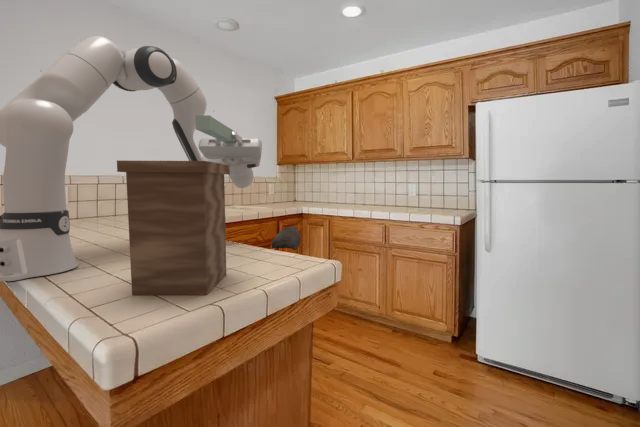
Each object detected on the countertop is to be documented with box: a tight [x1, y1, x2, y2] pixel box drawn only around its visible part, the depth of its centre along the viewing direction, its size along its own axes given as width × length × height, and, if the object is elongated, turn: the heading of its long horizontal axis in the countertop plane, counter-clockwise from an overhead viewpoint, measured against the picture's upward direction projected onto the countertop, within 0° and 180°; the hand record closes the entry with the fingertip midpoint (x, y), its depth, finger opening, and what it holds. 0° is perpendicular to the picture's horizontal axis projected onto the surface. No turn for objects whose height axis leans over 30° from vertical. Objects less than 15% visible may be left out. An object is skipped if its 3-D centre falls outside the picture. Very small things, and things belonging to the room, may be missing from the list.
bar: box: [195, 114, 236, 142], centre depth 95 cm, size 26×3×3 cm, turn 1°
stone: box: [270, 225, 301, 251], centre depth 109 cm, size 10×8×10 cm
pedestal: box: [116, 160, 230, 296], centre depth 69 cm, size 16×16×25 cm
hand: (225, 133), depth 104 cm, fingers closed on bar, 3 cm apart
